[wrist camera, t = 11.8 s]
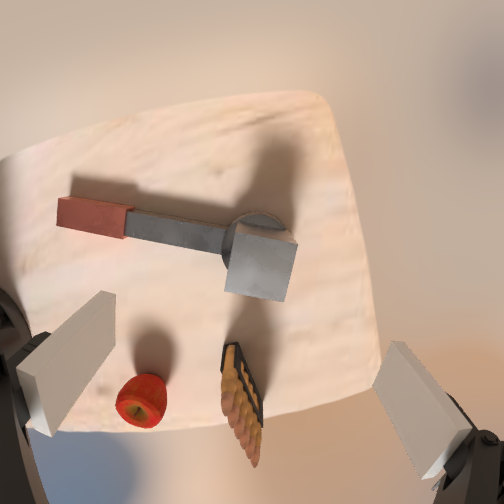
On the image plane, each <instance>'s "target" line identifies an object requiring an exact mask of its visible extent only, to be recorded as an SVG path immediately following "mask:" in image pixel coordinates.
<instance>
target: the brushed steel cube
mask: <svg viewBox="0 0 504 504" xmlns="http://www.w3.org/2000/svg"><path fill="white" fill-rule="evenodd" d="M297 246H298V243H297V242H296V240H295V239H294V237H293V236H292V234H291V233H290V231H287V230H282V229H277V228H272V227H267V226H262V225H257V224H252V223H247V222H242V221H238V224H237V228H236V231H235V235H234V241H233V246H232V251H231V257H230V262H229V267H228V273H227V278H226V284H225V289H224V291H225V292H230V293H235V294H241V295H246V296H251V297H257V298H262V299H268V300H274V301H279V302H284V300H285V296H286V292H287V288H288V284H289V280H290V276H291V272H292V268H293V263H294V259H295V255H296V251H297Z"/></svg>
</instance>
